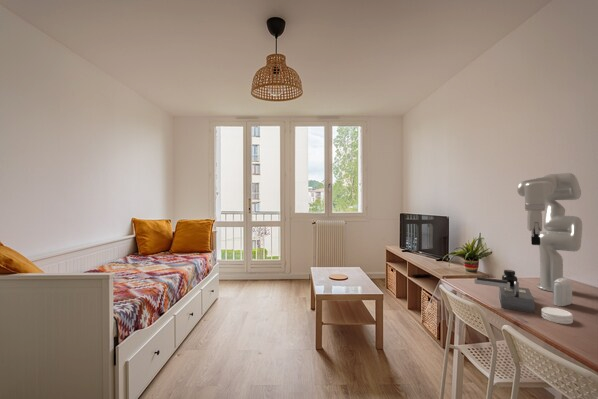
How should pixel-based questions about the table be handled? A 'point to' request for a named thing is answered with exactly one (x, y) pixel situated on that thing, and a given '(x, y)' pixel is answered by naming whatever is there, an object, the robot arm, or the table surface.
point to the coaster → (557, 315)
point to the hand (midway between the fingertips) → (535, 244)
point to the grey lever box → (516, 298)
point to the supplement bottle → (510, 277)
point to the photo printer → (562, 292)
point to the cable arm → (492, 282)
